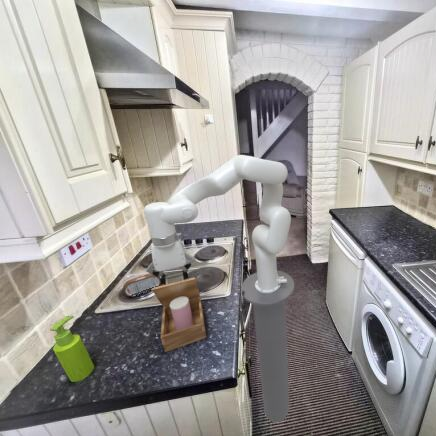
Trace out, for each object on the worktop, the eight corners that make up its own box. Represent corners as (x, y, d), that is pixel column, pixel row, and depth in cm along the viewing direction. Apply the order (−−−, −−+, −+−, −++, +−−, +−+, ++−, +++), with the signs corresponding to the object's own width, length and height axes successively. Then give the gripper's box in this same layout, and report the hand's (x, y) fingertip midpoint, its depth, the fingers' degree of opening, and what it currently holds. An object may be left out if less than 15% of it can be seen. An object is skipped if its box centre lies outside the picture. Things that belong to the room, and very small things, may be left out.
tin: (162, 284, 113) (158, 269, 110) (163, 287, 111) (159, 272, 108) (126, 296, 105) (120, 281, 102) (126, 300, 103) (120, 285, 100)
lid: (195, 279, 82) (193, 265, 85) (151, 289, 77) (151, 275, 80) (200, 296, 94) (198, 284, 97) (163, 307, 89) (162, 293, 92)
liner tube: (196, 320, 91) (190, 295, 86) (191, 333, 85) (185, 307, 80) (180, 321, 90) (173, 296, 86) (173, 334, 84) (166, 309, 80)
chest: (206, 337, 84) (203, 323, 81) (164, 352, 78) (160, 337, 76) (202, 309, 97) (200, 296, 94) (167, 320, 92) (163, 307, 89)
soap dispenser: (101, 360, 76) (79, 314, 69) (83, 382, 70) (57, 333, 62) (84, 360, 76) (61, 314, 69) (64, 381, 70) (36, 333, 62)
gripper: (191, 229, 84) (200, 270, 91) (137, 239, 77) (150, 283, 84) (192, 237, 78) (201, 281, 84) (133, 249, 71) (147, 295, 78)
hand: (175, 281), depth 84 cm, fingers closed on lid, 6 cm apart
